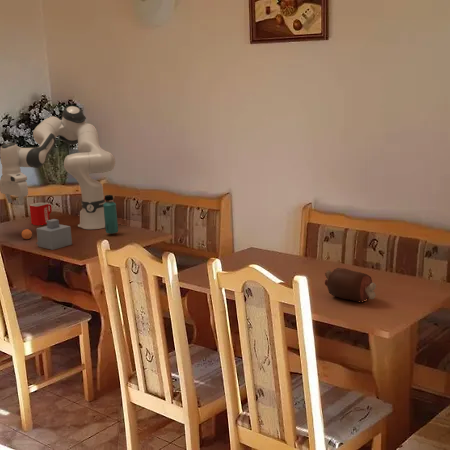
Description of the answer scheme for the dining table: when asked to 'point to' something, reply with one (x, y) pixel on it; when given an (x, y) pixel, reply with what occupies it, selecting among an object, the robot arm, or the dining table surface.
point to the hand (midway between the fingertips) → (15, 203)
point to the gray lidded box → (54, 235)
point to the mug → (40, 213)
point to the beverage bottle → (110, 215)
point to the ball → (26, 234)
